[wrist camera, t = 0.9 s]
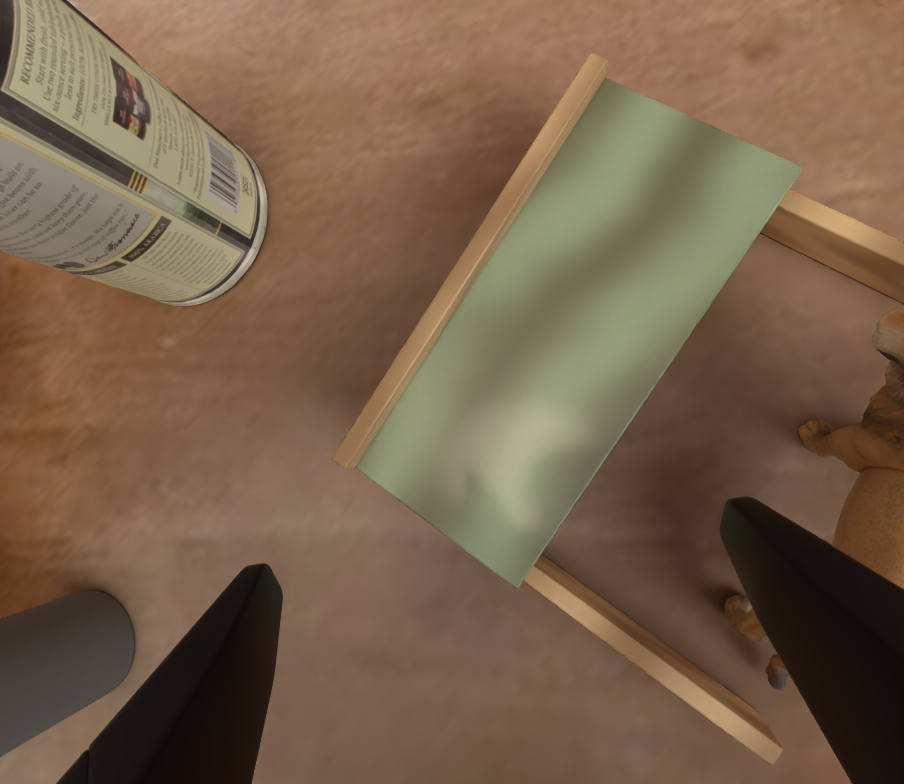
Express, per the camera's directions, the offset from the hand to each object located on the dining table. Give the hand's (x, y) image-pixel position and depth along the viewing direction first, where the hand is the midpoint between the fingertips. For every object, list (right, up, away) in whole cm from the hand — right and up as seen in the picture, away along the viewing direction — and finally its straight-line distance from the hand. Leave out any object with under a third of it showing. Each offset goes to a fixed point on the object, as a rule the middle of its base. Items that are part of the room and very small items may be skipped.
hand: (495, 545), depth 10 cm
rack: (+9, +2, +12) cm, 15 cm away
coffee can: (-16, +13, +19) cm, 28 cm away
